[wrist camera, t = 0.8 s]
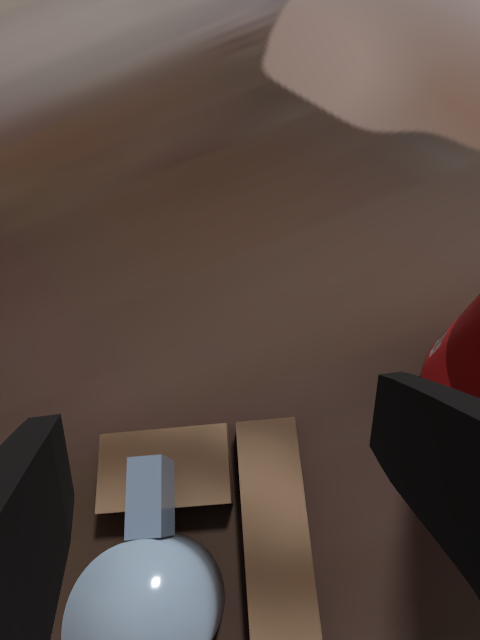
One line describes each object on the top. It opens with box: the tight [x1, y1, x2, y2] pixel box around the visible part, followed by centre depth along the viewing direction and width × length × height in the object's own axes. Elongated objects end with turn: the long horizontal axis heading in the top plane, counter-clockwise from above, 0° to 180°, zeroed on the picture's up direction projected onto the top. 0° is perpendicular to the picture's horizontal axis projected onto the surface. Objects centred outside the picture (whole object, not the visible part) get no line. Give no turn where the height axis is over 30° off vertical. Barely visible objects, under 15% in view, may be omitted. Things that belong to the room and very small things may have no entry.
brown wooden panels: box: [95, 417, 322, 640], centre depth 20 cm, size 16×11×1 cm
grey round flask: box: [61, 454, 225, 640], centre depth 19 cm, size 9×6×6 cm, turn 4°
